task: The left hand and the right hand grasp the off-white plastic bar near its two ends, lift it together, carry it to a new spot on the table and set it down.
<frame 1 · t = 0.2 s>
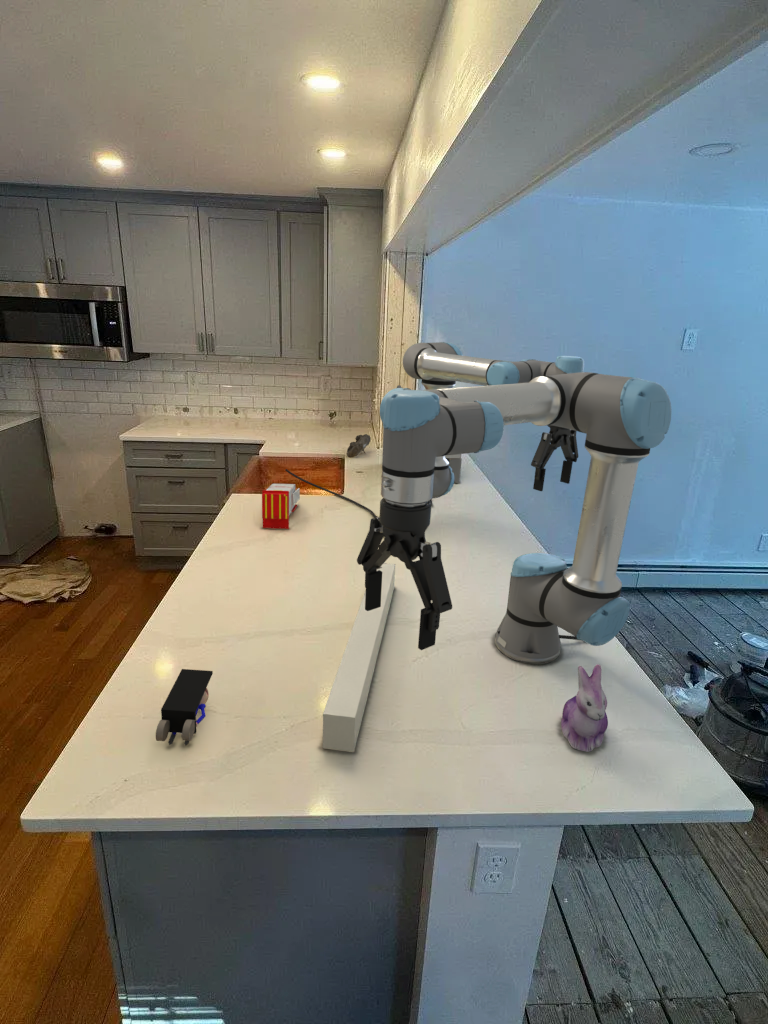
left hand: (551, 486, 165), 28 cm above the counter, tool pointing down, fingers open, 13 cm apart
right hand: (398, 626, 90), 27 cm above the counter, tool pointing down, fingers open, 13 cm apart
figurine: (583, 736, 107), on the counter
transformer: (419, 473, 275), on the counter
fossil: (358, 453, 307), on the counter
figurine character: (188, 725, 106), on the counter
feather: (430, 496, 241), on the counter
bar: (366, 650, 131), on the counter
toy: (280, 515, 212), on the counter
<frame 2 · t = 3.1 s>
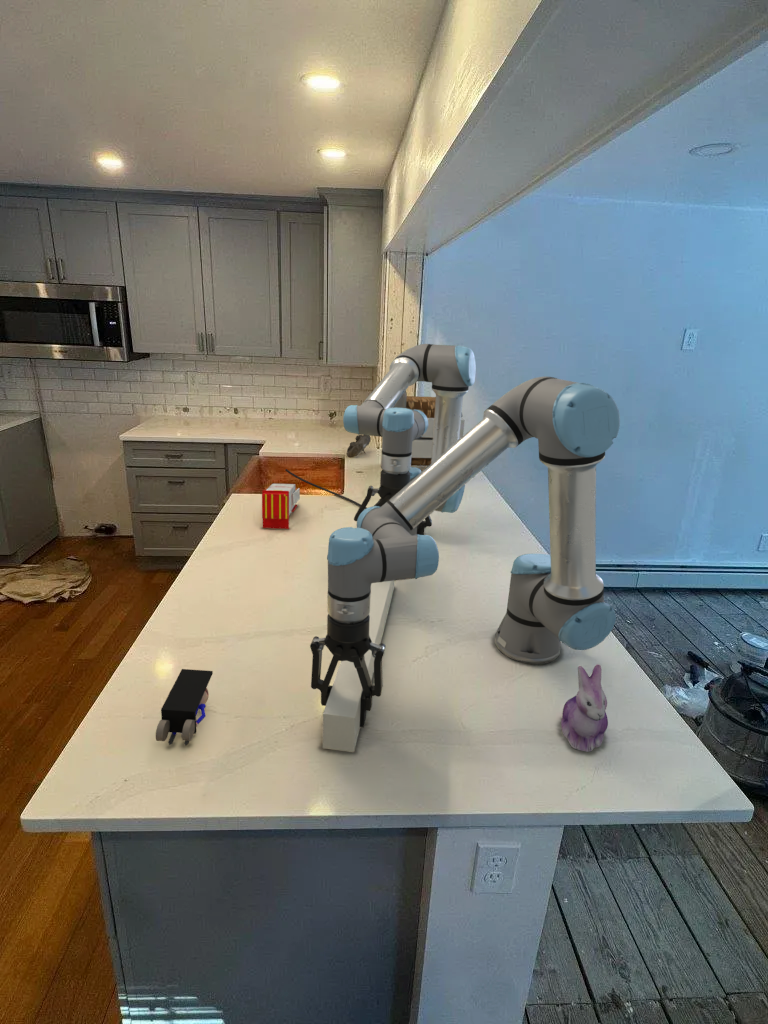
left hand: (391, 548, 150), 15 cm above the counter, tool pointing down, fingers open, 13 cm apart
right hand: (346, 720, 108), 1 cm above the counter, tool pointing down, fingers closed on bar, 6 cm apart
bar: (366, 650, 131), on the counter, touching right hand
everything else where it was.
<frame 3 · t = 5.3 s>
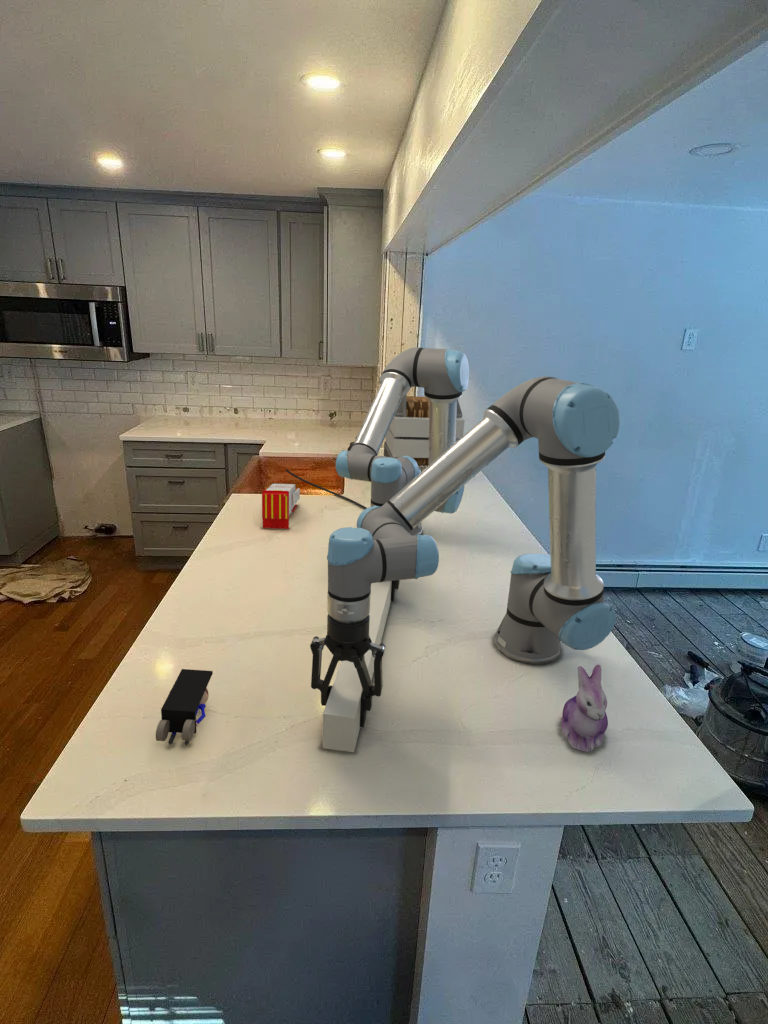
left hand: (380, 597, 154), 1 cm above the counter, tool pointing down, fingers closed on bar, 6 cm apart
right hand: (346, 720, 108), 1 cm above the counter, tool pointing down, fingers closed on bar, 6 cm apart
bar: (366, 650, 131), on the counter, touching left hand, right hand
everything else where it was.
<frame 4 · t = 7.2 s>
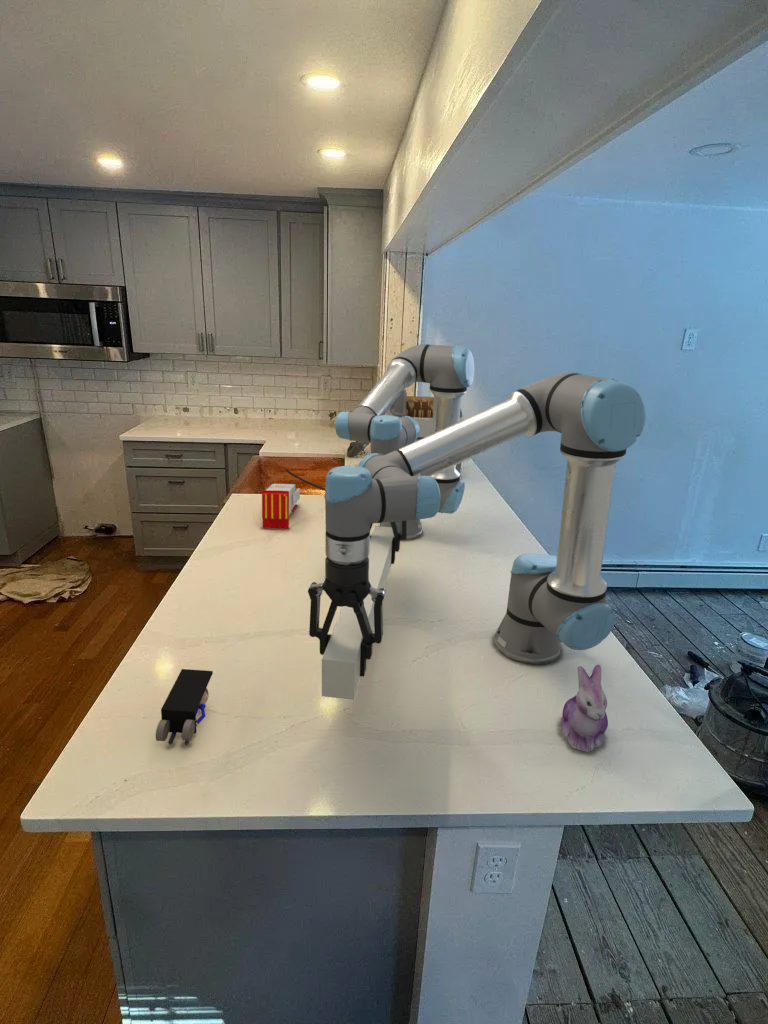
left hand: (381, 560, 151), 11 cm above the counter, tool pointing down, fingers closed on bar, 6 cm apart
right hand: (345, 670, 105), 11 cm above the counter, tool pointing down, fingers closed on bar, 6 cm apart
bar: (366, 608, 128), point 11 cm above the counter, touching left hand, right hand
everything else where it was.
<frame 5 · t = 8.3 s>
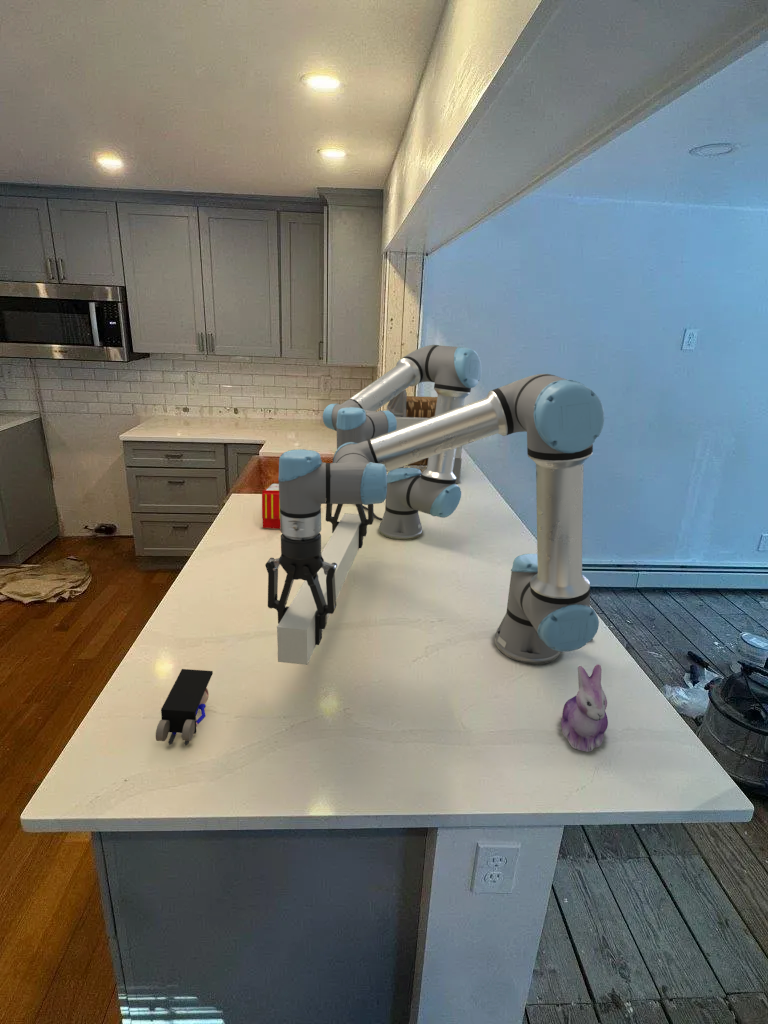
left hand: (349, 545, 160), 11 cm above the counter, tool pointing down, fingers closed on bar, 6 cm apart
right hand: (302, 639, 114), 11 cm above the counter, tool pointing down, fingers closed on bar, 6 cm apart
bar: (329, 587, 137), point 11 cm above the counter, touching left hand, right hand
everything else where it was.
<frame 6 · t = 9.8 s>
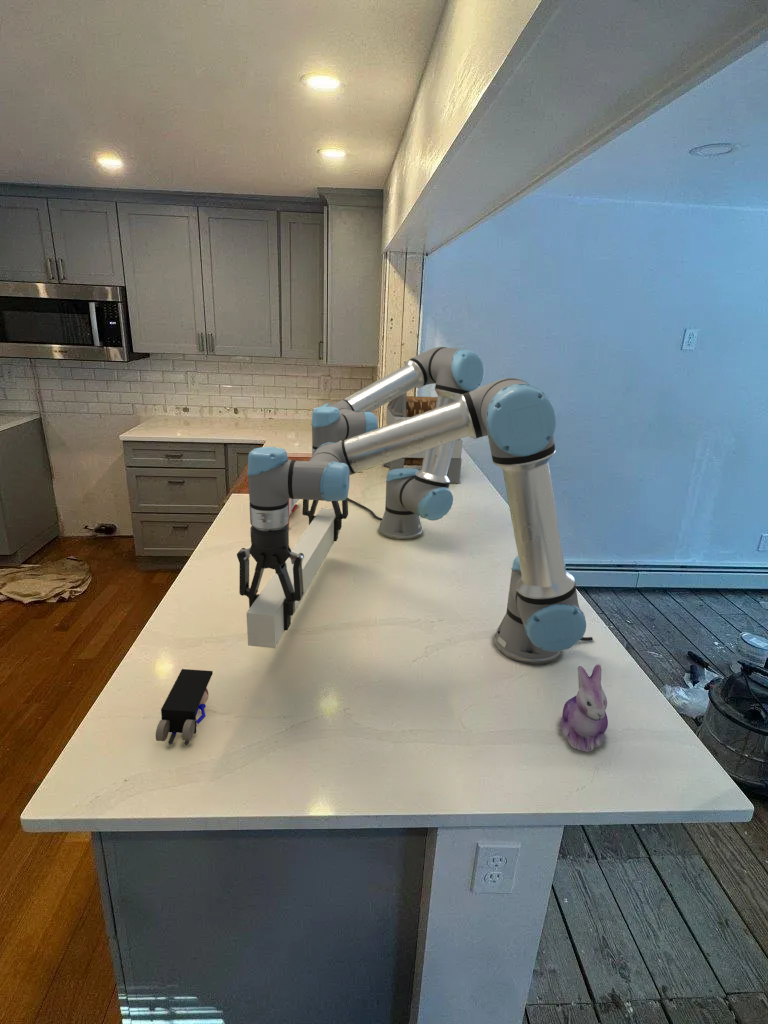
left hand: (325, 538, 168), 10 cm above the counter, tool pointing down, fingers closed on bar, 6 cm apart
right hand: (272, 625, 121), 10 cm above the counter, tool pointing down, fingers closed on bar, 6 cm apart
bar: (303, 577, 145), point 9 cm above the counter, touching left hand, right hand
everything else where it was.
when the left hand's fingers open (2 cm above the counter, at t = 11.2 s): bar stays where it is, on the counter.
when the right hand's fingers open (2 cm above the counter, at t = 11.2 s): bar stays where it is, on the counter.
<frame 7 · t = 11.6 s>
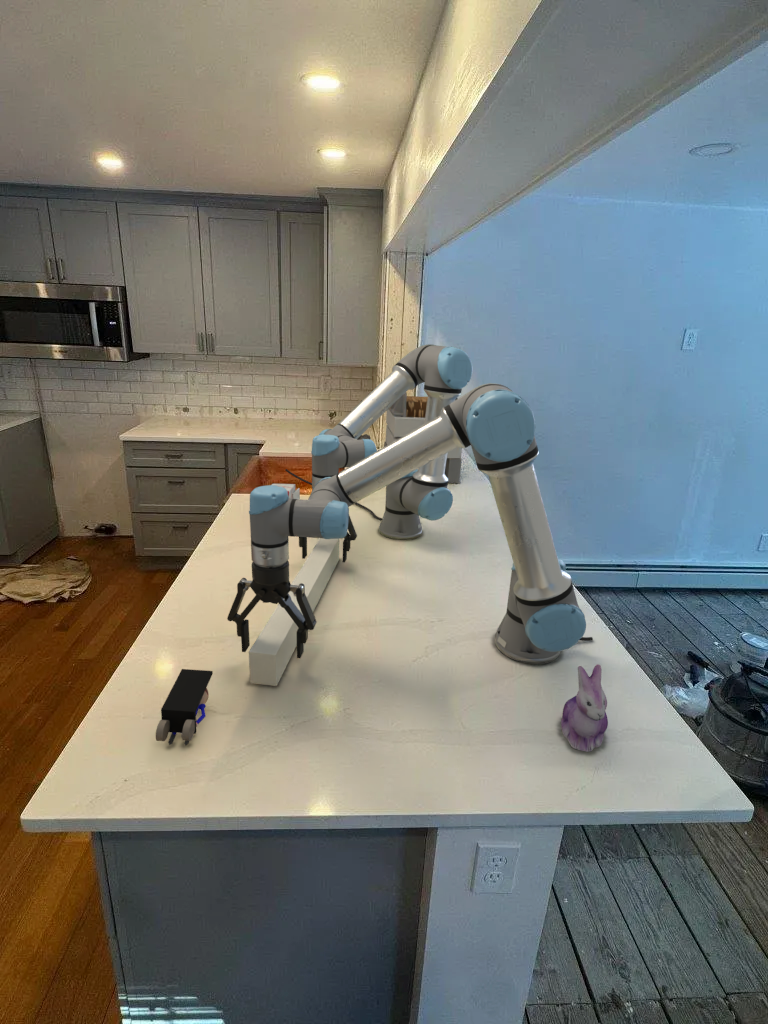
left hand: (324, 558, 170), 3 cm above the counter, tool pointing down, fingers open, 11 cm apart
right hand: (272, 651, 123), 3 cm above the counter, tool pointing down, fingers open, 11 cm apart
bar: (303, 609, 148), on the counter
everything else where it was.
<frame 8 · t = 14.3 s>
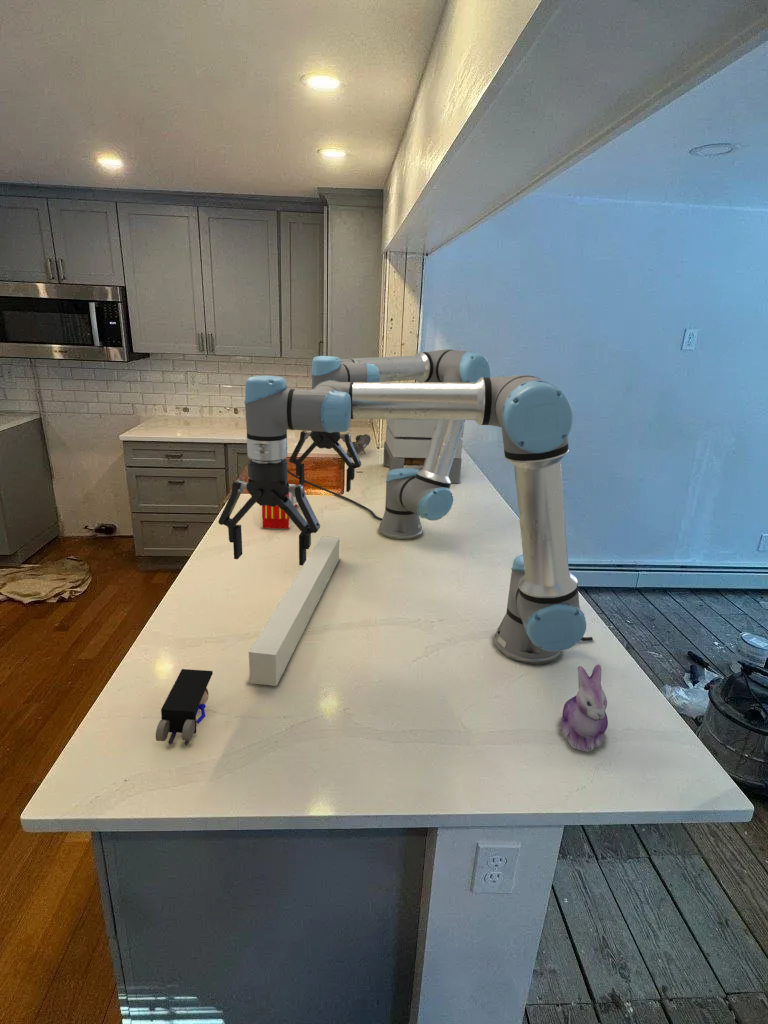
left hand: (325, 488, 162), 25 cm above the counter, tool pointing down, fingers open, 13 cm apart
right hand: (270, 559, 116), 25 cm above the counter, tool pointing down, fingers open, 13 cm apart
nothing on the counter moved.
at the end: bar inside the target area (0.2 cm from its centre), on the counter; bar tilted 0°; bar never tilted more than 1° during the clip; both hands held the bar at the same time; the left hand is holding nothing; the right hand is holding nothing; bar at rest at the end (0.0 cm/s) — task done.
